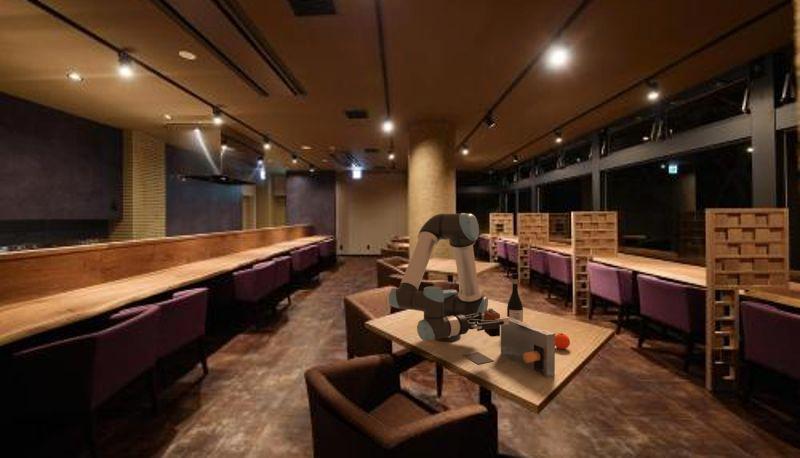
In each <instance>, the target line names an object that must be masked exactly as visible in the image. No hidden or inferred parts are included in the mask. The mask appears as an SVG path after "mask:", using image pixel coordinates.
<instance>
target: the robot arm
mask: <svg viewBox="0 0 800 458" xmlns="http://www.w3.org/2000/svg"><path fill="white" fill-rule="evenodd" d="M479 231H480V227H479V222H478V219H477V217H476V216H475V215H474V214H472V213H465V212H461V213H438V214H435V215H433V216H431V218H429V219H428V220H427V221H426V222H425V223H424V224H423V225H422V227H421V228H420V230H419V232H418V234H417V243H416V245H415V247H414V250H413V252H412V255H411V257H410V259H409V263H408V264H407V267H406V270H405V272H404V275H403V276H402V279H401V281H400V284H399V286H398V287H394V288H392V289H391V290H390V291H389V293H388V303H389V304H390V306H391V307H393V308H396V309H400V310H402V309H404V310H410V311H411V310H413V311H418V312H423V319H421V320H419V321H418V322H417V325H416V331H417V335H418V337H419V338H420V339H421V340H422V341H431V340H432V341H433V340H435V341H440V342H455V341H458V340H460V339H461V337H462V335H465V334H467V333H468V332H469V330H475V329H476V331H477V332H480V331H484V330H488V329H497V328H499V326H500V327H501V325H507V324H509V317H507V316H504V317H505V318H502V317H500V318H498V319H495V320H484V311H485V310H488V305H489V299H488V296H485V295H483V291H482V289H481V288H479V281H478V276H477V268H476V260H475V251H474V245H475V243H476V241H477V240H478V238H479V235H480V232H479ZM441 240H448V242H449V246H450V247H452V248H453V252H454V253H453V254H454V258H455V259H454V260H455V265H456V272H457V278H458V283H459V289H460V290H459V291H457V290H456V289H443V288H442V287H441V286H435V285H434V286H433V285H432V286H425V287H424V288H423V290H419V288H420V285H421V282H422V279H423V277H424V274H425V271H426V269H427V266H428V264H429V262H430V260H431V256H432V254H433V251H434V249H435V247H436V246H437V245H438V244H439V241H441Z"/></svg>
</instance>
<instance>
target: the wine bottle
mask: <svg viewBox="0 0 800 458" xmlns="http://www.w3.org/2000/svg"><path fill="white" fill-rule="evenodd" d="M511 274H512V275H511V277H512V290H511V295H510V298H509V300H508V303H507V308H506V317H511V318H513V319H516V320H519V321H522V322H524V306H523V302H522V299H521V297H520V295H519V286H518V285H519V282H518V281H519V280H518V279H519V274H518V273H516V272H515V273H513V272H512V273H511Z"/></svg>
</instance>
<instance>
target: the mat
mask: <svg viewBox="0 0 800 458" xmlns="http://www.w3.org/2000/svg"><path fill="white" fill-rule="evenodd" d="M462 356H463V357H465V358H467V359H468V360H470V361H472V362H473V363H475V364H476V365H478V366H479V365H482V364H483V365H485V364H488V363H492V362H494V359H492V358H490V357H488V356H486V355H485V354H483V353H481V352H479V351H477V352H476V351H475V352H470V353H464V354H462Z"/></svg>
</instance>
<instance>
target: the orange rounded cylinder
mask: <svg viewBox="0 0 800 458" xmlns="http://www.w3.org/2000/svg"><path fill="white" fill-rule="evenodd" d="M523 359H524V361H525V362H526V363H530V362H534V361H539V360H540V354H539V353H538V352H537V351H532V352H527V353H524V354H523Z"/></svg>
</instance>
